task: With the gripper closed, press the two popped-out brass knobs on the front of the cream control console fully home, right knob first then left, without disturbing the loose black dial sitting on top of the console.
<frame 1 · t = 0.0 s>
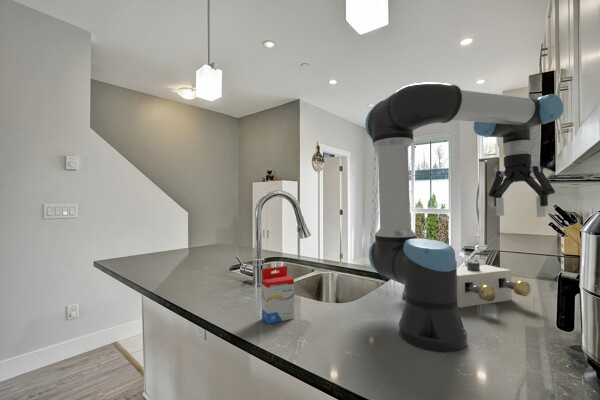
hand: (519, 216, 95), 28 cm above the counter, fingers open, 13 cm apart
mug: (415, 297, 98), on the counter
knob right: (510, 285, 89), point 6 cm above the counter, slide at 0.0 cm
ink box: (278, 319, 81), on the counter
dial: (473, 269, 94), point 10 cm above the counter, touching console
knob left: (476, 289, 85), point 6 cm above the counter, slide at 0.0 cm
console: (486, 303, 90), on the counter
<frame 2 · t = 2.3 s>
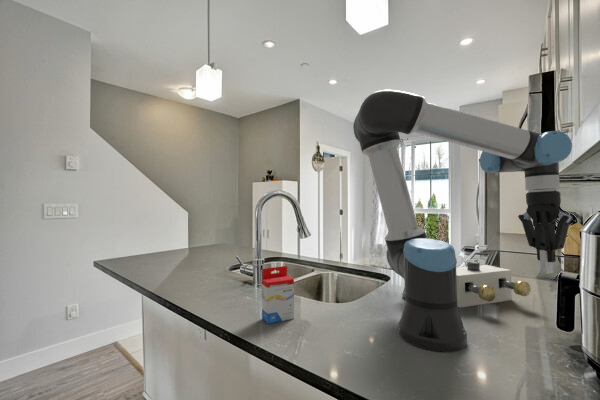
hand: (547, 272, 79), 12 cm above the counter, fingers closed
nothing on the counter moved.
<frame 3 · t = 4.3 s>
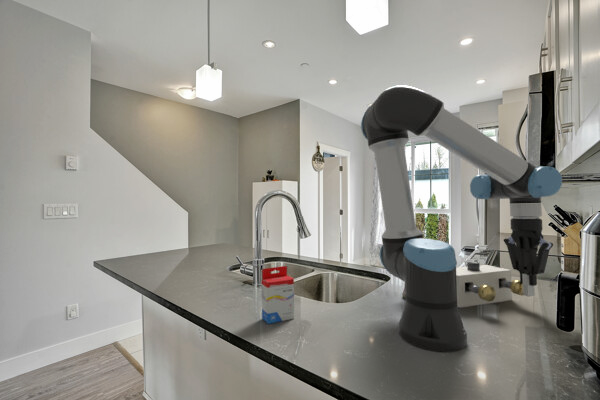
hand: (528, 295, 84), 4 cm above the counter, fingers closed
knob right: (507, 284, 90), point 6 cm above the counter, slide at 0.9 cm, touching gripper
everything else where it was.
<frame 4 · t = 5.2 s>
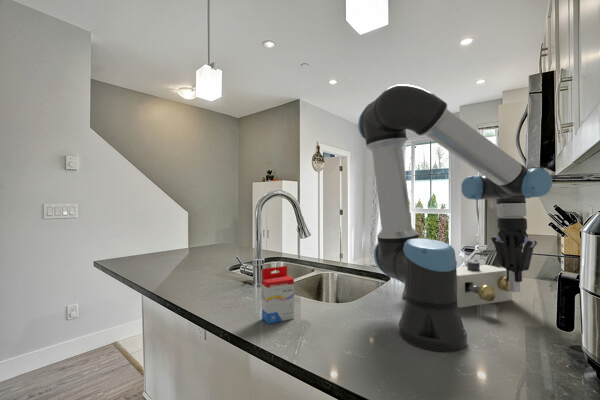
hand: (514, 291, 88), 4 cm above the counter, fingers closed
knob right: (495, 281, 94), point 6 cm above the counter, slide at 5.1 cm, touching gripper
everything else where it was.
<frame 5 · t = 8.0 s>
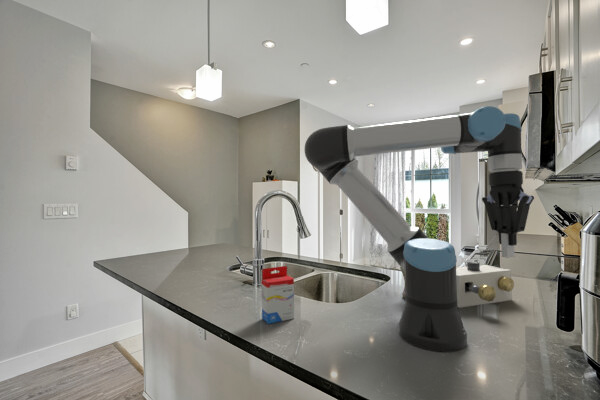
hand: (508, 256, 76), 18 cm above the counter, fingers closed
knob right: (495, 281, 94), point 6 cm above the counter, slide at 5.1 cm
everything else where it was.
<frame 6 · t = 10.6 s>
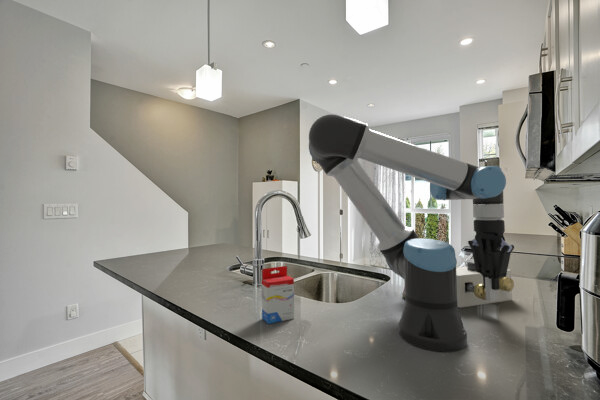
hand: (491, 299, 81), 4 cm above the counter, fingers closed
knob left: (472, 288, 87), point 6 cm above the counter, slide at 1.5 cm, touching gripper
everything else where it was.
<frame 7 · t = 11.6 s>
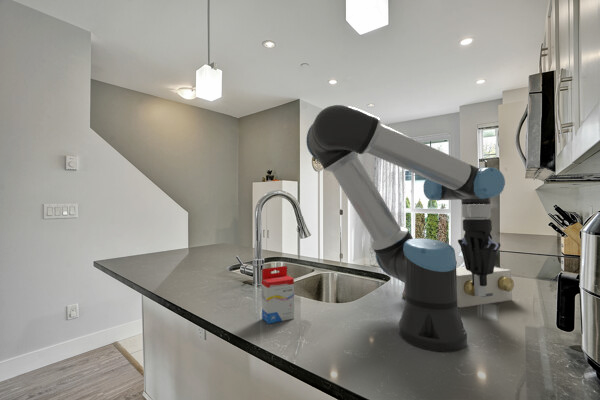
hand: (480, 295, 84), 4 cm above the counter, fingers closed
knob left: (462, 285, 90), point 6 cm above the counter, slide at 5.2 cm, touching gripper
everything else where it was.
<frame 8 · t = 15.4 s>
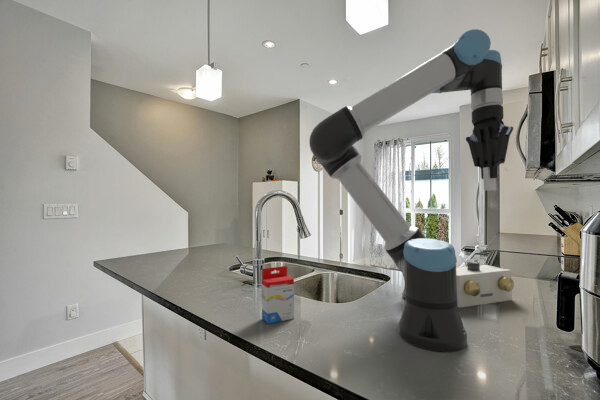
hand: (489, 190, 79), 36 cm above the counter, fingers closed
knob left: (462, 285, 90), point 6 cm above the counter, slide at 5.1 cm
everything else where it was.
at the end: knob right slide at 5.1 cm; knob left slide at 5.1 cm; dial moved 0.0 cm from its start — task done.
